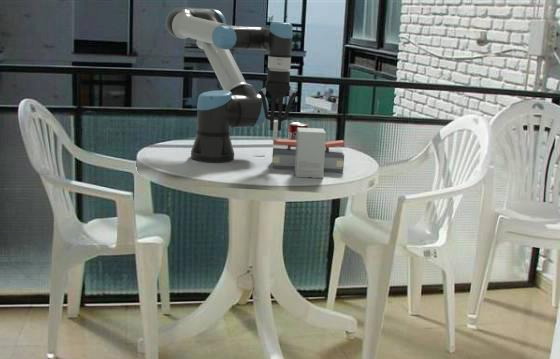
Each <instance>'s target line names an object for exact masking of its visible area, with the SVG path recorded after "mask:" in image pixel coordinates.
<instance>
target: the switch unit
mask: <svg viewBox="0 0 560 359" xmlns="http://www.w3.org/2000/svg"><path fill="white" fill-rule="evenodd" d="M295 156H296V147H291V146H290V145H272V156H271V157H272V161H271V169H272V170H273V169H275V170H291V171H292V170H293V171H295ZM344 163H345V154H344V151H343V149H342V148H340V149H339V148H330V147H329V148H325V157H324V172H328V173H342V172H343V173H344V166H345V164H344Z"/></svg>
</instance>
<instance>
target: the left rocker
mask: <svg viewBox="0 0 560 359" xmlns="http://www.w3.org/2000/svg"><path fill="white" fill-rule="evenodd" d="M272 141H273V140H272ZM288 145H292V146H296V140H288V139H284V138H283V139H282V138H277V141H273V143H272V146H288Z"/></svg>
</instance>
